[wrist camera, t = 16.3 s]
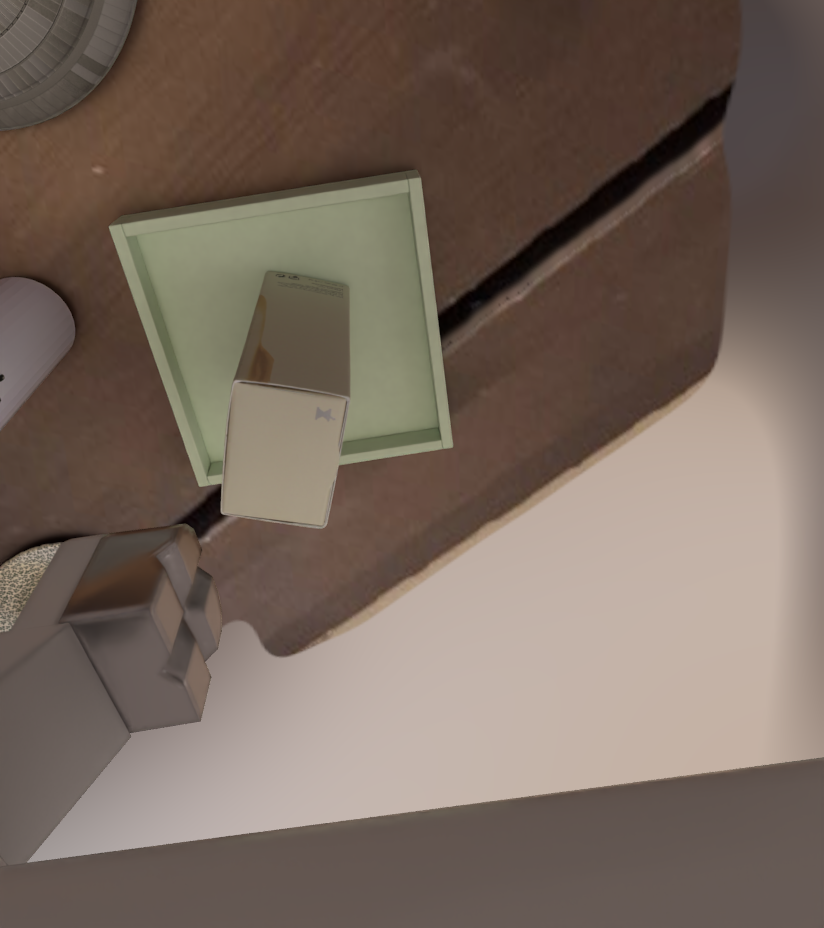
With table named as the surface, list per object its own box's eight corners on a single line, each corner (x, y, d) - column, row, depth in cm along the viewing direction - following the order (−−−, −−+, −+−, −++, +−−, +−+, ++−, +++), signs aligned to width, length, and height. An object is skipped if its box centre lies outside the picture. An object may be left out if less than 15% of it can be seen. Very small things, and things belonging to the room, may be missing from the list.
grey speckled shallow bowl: (163, 689, 50) (148, 745, 46) (-20, 649, 47) (-54, 705, 43) (210, 563, 45) (196, 615, 41) (5, 509, 42) (-30, 559, 38)
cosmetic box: (264, 267, 35) (230, 369, 25) (352, 283, 36) (354, 389, 25) (251, 385, 38) (215, 519, 28) (332, 398, 39) (326, 533, 29)
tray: (417, 168, 34) (420, 177, 32) (448, 429, 41) (453, 447, 40) (120, 215, 34) (107, 225, 32) (205, 467, 41) (198, 487, 40)
